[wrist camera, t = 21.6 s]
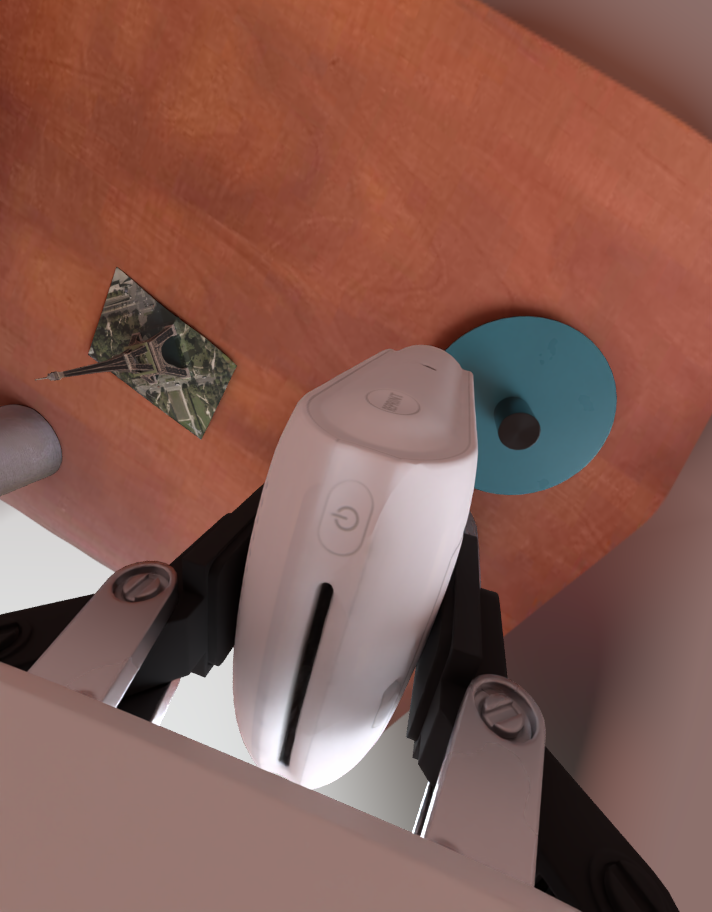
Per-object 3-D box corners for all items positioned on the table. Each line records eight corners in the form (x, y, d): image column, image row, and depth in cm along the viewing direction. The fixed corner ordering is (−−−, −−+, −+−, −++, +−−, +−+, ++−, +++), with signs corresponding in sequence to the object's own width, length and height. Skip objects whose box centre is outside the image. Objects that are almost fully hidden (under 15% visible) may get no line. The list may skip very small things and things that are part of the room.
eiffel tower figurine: (90, 354, 42) (-60, 376, 30) (116, 266, 37) (-49, 252, 25) (203, 438, 42) (99, 494, 30) (242, 361, 38) (138, 391, 26)
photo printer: (384, 328, 16) (203, 396, 5) (486, 356, 16) (532, 501, 4) (335, 527, 21) (180, 796, 9) (414, 555, 20) (345, 879, 9)
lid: (646, 333, 29) (688, 342, 23) (571, 507, 35) (591, 546, 29) (442, 301, 31) (437, 301, 26) (406, 467, 37) (395, 496, 32)
